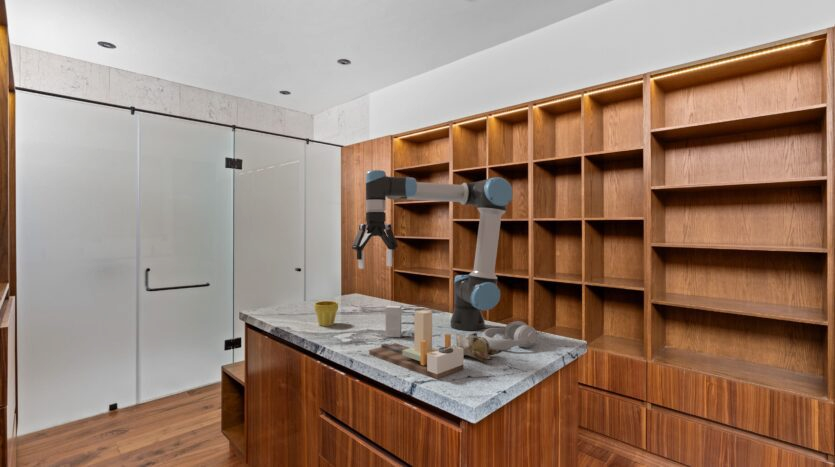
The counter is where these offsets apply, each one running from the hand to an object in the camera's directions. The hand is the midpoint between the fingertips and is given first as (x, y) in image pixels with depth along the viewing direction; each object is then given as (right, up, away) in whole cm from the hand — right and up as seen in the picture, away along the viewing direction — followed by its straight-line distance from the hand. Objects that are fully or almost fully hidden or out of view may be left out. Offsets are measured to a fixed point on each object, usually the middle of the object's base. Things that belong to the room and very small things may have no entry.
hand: (375, 267), depth 154 cm
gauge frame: (+22, -26, -29) cm, 45 cm away
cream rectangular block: (+25, -28, -31) cm, 49 cm away
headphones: (+50, -29, -2) cm, 58 cm away
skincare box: (+6, -29, +10) cm, 31 cm away
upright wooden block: (+18, -27, -25) cm, 41 cm away
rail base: (+15, -29, -21) cm, 39 cm away
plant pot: (-25, -28, +29) cm, 48 cm away
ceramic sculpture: (+36, -29, -18) cm, 50 cm away
